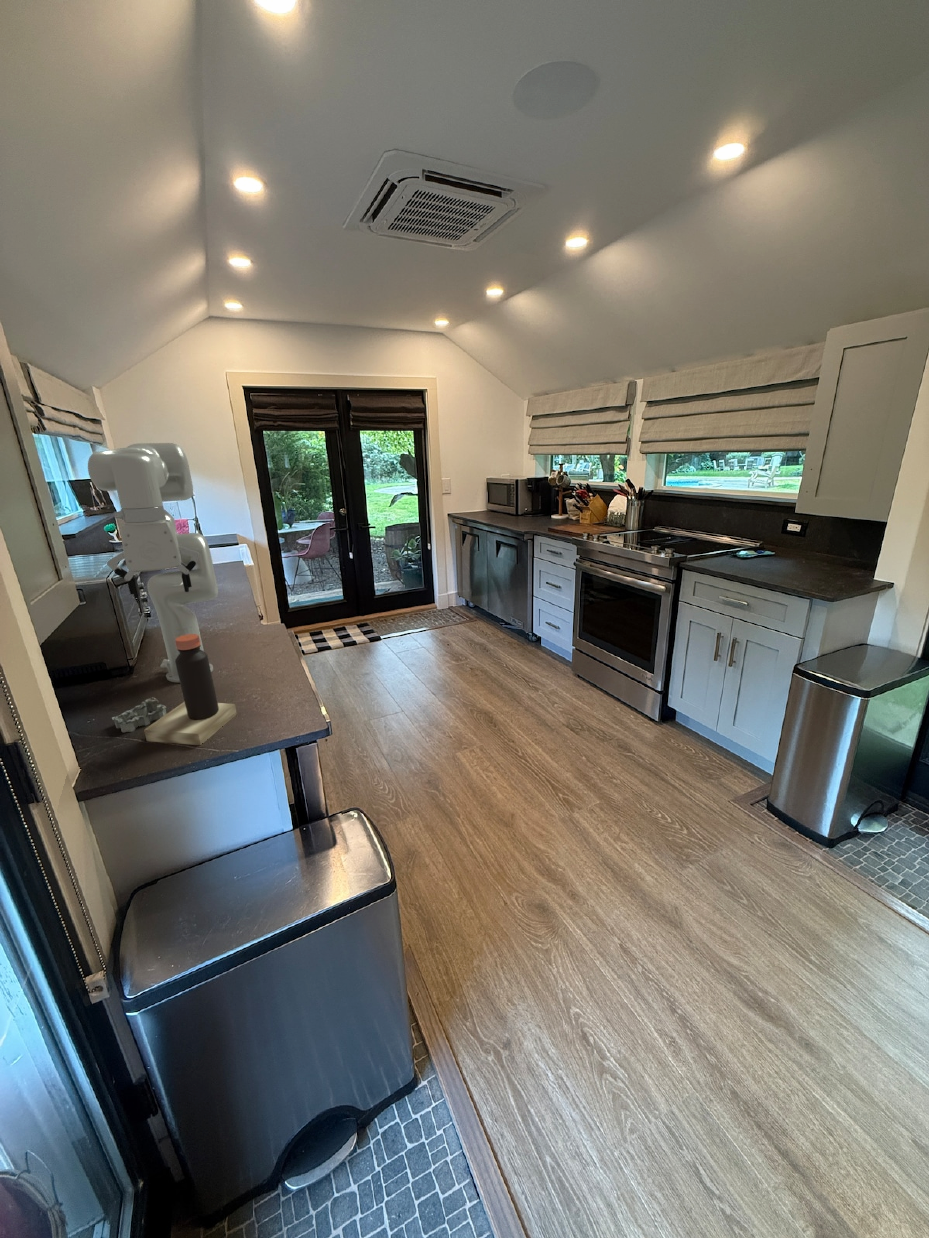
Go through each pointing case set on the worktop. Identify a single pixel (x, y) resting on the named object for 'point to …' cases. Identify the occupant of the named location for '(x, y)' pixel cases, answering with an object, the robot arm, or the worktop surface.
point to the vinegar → (195, 678)
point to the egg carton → (140, 715)
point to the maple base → (188, 726)
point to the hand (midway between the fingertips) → (162, 593)
